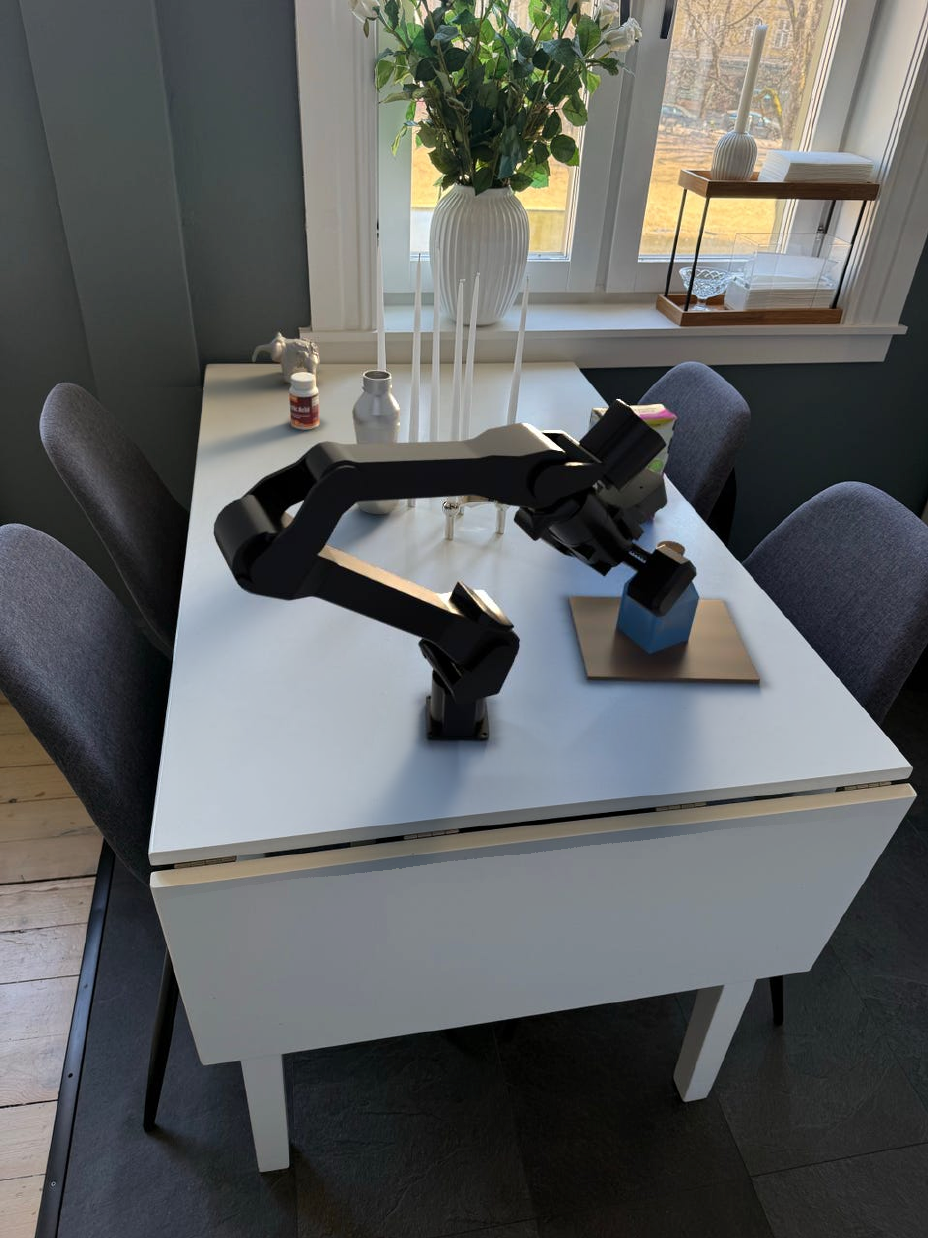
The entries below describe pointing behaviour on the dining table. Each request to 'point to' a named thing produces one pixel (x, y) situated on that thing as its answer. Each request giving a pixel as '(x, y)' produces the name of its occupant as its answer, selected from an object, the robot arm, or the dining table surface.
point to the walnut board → (698, 659)
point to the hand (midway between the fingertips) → (639, 579)
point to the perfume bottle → (662, 629)
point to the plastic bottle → (376, 423)
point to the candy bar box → (657, 420)
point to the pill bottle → (304, 401)
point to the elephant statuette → (291, 354)
